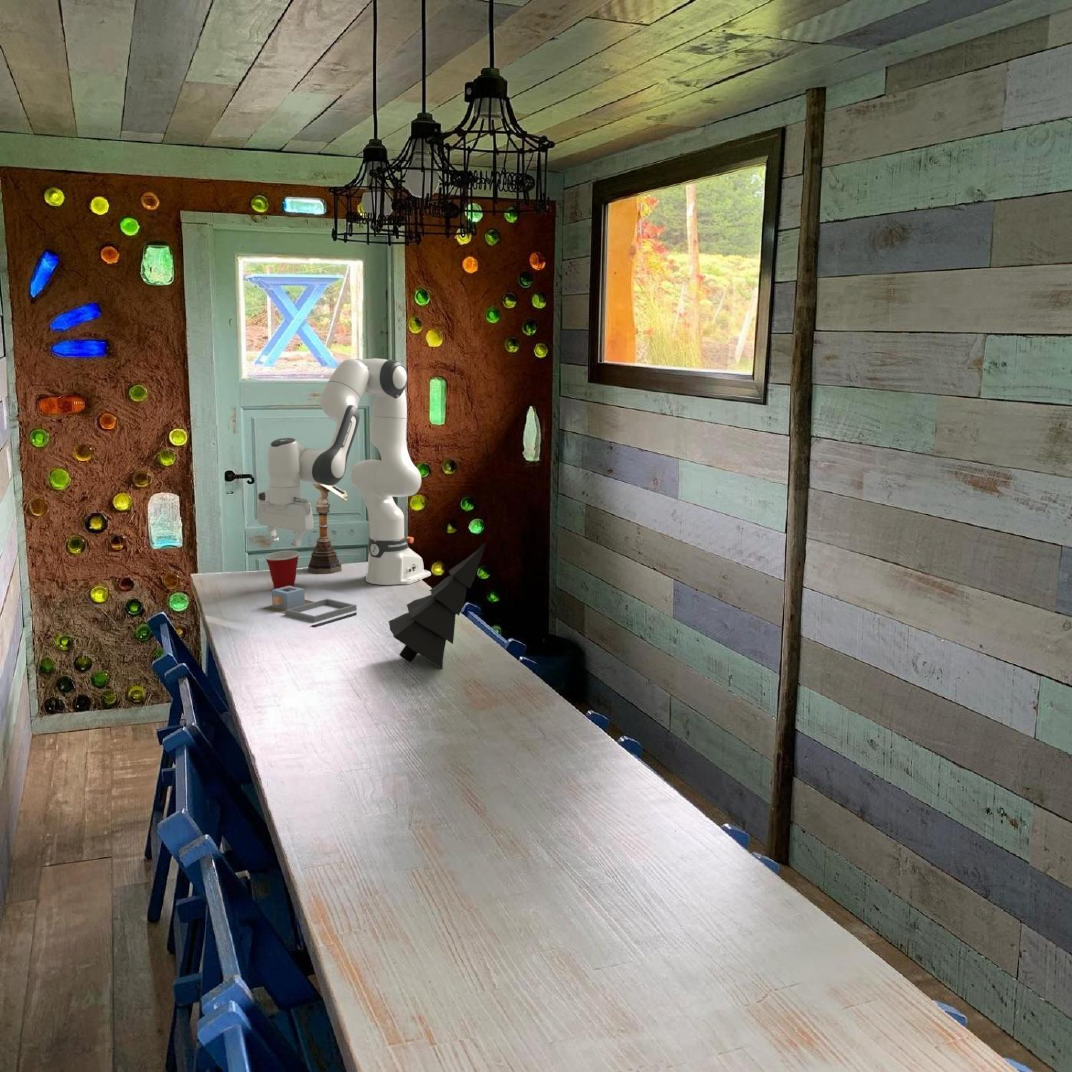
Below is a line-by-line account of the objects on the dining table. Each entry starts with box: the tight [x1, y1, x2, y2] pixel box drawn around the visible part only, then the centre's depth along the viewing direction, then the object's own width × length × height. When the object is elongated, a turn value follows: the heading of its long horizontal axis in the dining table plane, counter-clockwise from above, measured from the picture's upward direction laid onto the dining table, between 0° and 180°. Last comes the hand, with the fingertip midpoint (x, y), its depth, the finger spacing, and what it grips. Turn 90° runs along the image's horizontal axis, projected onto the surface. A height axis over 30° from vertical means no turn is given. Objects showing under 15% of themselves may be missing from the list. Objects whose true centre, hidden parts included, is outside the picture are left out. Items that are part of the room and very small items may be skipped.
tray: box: [284, 598, 358, 628], centre depth 307 cm, size 16×12×3 cm
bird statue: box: [307, 482, 349, 575], centre depth 363 cm, size 17×13×35 cm
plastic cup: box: [264, 550, 301, 589], centre depth 336 cm, size 11×11×12 cm
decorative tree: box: [388, 542, 487, 670], centre depth 268 cm, size 15×15×35 cm
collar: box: [271, 586, 306, 610], centre depth 312 cm, size 8×6×5 cm
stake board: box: [262, 589, 314, 615], centre depth 314 cm, size 14×10×6 cm
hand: (286, 543), depth 310 cm, fingers open, 8 cm apart
